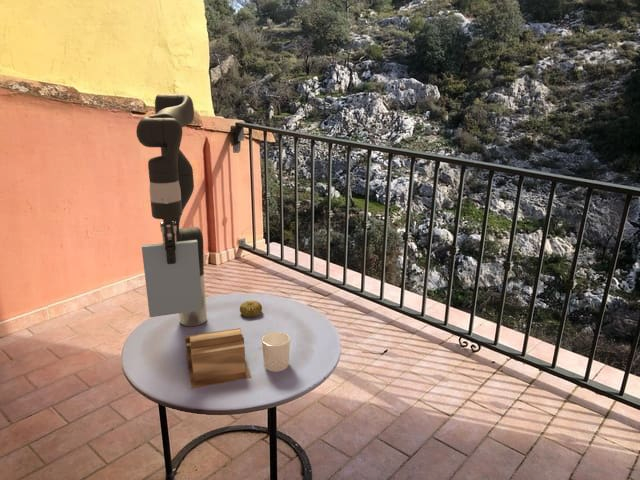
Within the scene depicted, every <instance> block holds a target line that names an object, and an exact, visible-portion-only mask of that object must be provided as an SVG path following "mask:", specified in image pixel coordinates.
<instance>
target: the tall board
mask: <svg viewBox="0 0 640 480" xmlns="http://www.w3.org/2000/svg"><path fill="white" fill-rule="evenodd" d="M167 246H173V245H167ZM175 247H176V250H175V256H176V263H175V264H168V263H167V255H166V250H165V243H164V242H159V243H157V242H156V243H148V244H141V252H142V262H143V271H144V277H145V279H144V280H145V288H146V289H145V290H146V295H147V296H146V297H147V298H146V299H147V304H148V305H147V306H148V313H149V315H148V316H149V318H154V317H155V318H157V317H163V316H168V315H169V316H170V315H177V314H178V315H179V313H185V312H192V311H199V310H203V307H202V294H201V281H200V269H199V256H198V243H197V240H189V241H178V242H175Z"/></svg>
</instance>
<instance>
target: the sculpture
mask: <svg viewBox="0 0 640 480" xmlns="http://www.w3.org/2000/svg"><path fill="white" fill-rule="evenodd" d="M262 311H263V305H262V304H261V303H260V302H259V301H256V300H247V301H244V302H243V303H241V305H240V306H239V312H240V313H241V315H243V316H244V317H246V318H247V317H248V318H251V317H256V316H259V315H260V314H261V313H262Z"/></svg>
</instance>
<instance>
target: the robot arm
mask: <svg viewBox="0 0 640 480" xmlns="http://www.w3.org/2000/svg"><path fill="white" fill-rule="evenodd" d="M154 111H155V114H151V115H148V116H145V117H143V118H141V119H140V120H139V121H138V123H137V126H136V131H135V132H136V137H137V140H138V142H139V143H140V144H141V145H142V146H144V147H147V148H160V152H161V153H160V156H154V157H151V158H150V159H148V163H147V168H148V169H147V170H148V178H149V199H150V208H151V210H150V211H151V217H152V218H153V219H156V220H161V222H160V223H159V225H160V226H159V227H160V233H161V237H162V243H165V250H166V255H167V263H168V264H175V263H176V256H175V250H176V247H175V242H178V241H189V240H197V243H198V256H199V269H200V281H201V294H202V307H203V310H199V311H192V312H185V313H178V316H179V323H180V324H181V325H183V326H187V327H193V326H194V327H195V326H199V325H201V324H204V323H206V321H207V320H208V315H207V299H206V298H207V297H206V283H205V271H204V269H205V261H204V258H205V257H204V236H203V233H202V231H201V229H200V228H199V227H197V226H191V227H184V228H180V222H181V216H183V212H184V210H185V208H186V206H187V204H188V203H189V201H190V200H191V197H192V195H193V193H194V189H195V185H194V184H195V182H194V169H193V166H192V165H191V163H190V161H189V159H188V158H187V157H186V155H185V154H184V152H182V150H181V149H180V147H181V142H182V139H183V128H184V127H186V126H187V125H191V124H192V123H193V121H194V117H195V108H194V101H193V99H192V98H191V97H190V96H189V95H188V94H185V93H184V94H183V93H159V94H157V95H156V96H155V100H154ZM167 245H173V246H167Z"/></svg>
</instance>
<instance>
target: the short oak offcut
mask: <svg viewBox="0 0 640 480" xmlns="http://www.w3.org/2000/svg"><path fill="white" fill-rule="evenodd" d="M245 347H246V346H245V343H244V344H243V341H241V342H235V343H228V344H222V345H215V346H209V347H203V348H196V349H191V352H192V365H193V376H194V381H196V380H202V379H207V378H213V377H219V376H224V375H230V374H236V373H241V372H246V370H245V361H246V352H245Z"/></svg>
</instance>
